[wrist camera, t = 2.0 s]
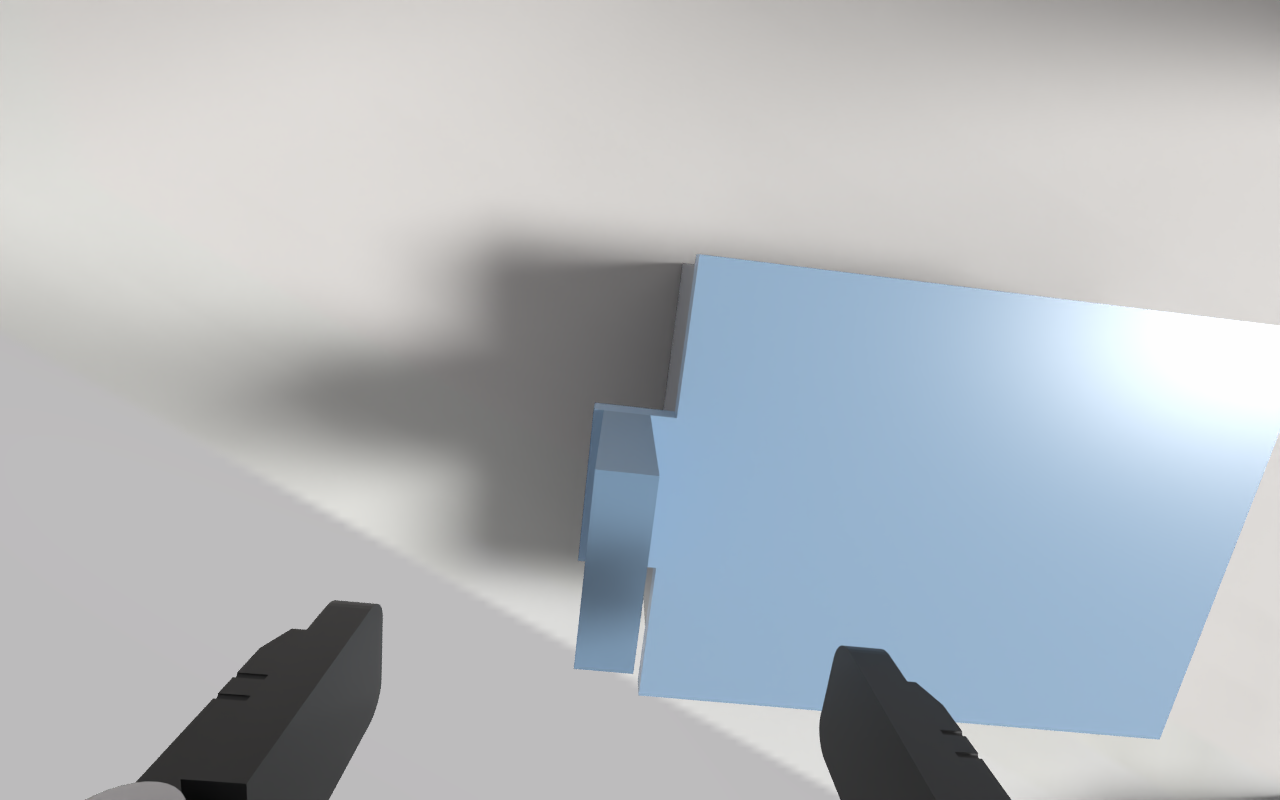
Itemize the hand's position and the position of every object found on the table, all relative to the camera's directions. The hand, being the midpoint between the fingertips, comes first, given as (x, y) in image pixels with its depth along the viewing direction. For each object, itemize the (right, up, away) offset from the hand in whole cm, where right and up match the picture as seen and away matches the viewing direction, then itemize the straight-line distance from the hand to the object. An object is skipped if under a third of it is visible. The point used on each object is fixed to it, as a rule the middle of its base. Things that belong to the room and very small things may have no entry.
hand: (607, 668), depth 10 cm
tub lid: (+9, +1, +10) cm, 14 cm away
